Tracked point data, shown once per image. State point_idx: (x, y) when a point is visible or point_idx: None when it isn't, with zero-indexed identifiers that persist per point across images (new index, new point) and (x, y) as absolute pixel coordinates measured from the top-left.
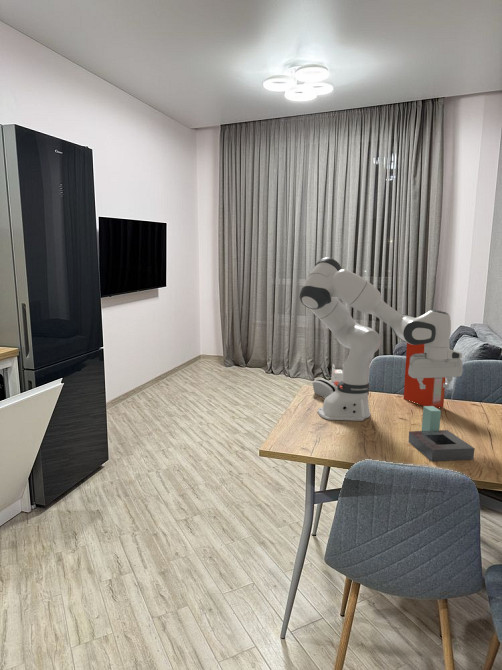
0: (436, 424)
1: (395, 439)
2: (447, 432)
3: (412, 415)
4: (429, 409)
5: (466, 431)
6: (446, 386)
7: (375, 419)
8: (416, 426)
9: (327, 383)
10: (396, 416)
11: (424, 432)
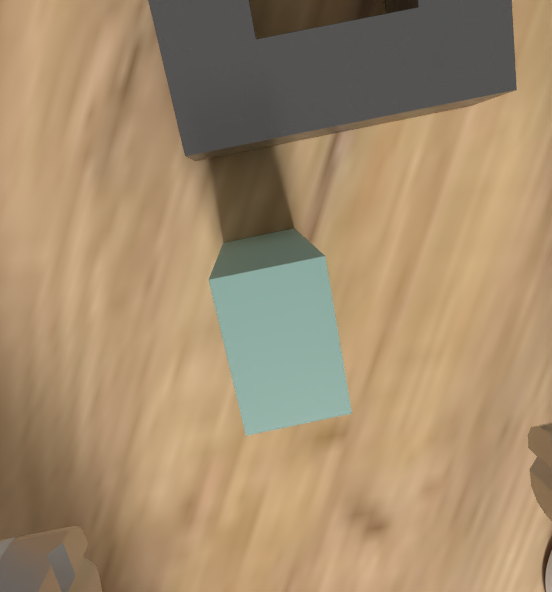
0: (248, 248)
1: (543, 143)
2: (201, 93)
3: (285, 586)
4: (323, 313)
5: (3, 351)
6: (25, 559)
7: None
8: None
9: None
10: (392, 555)
11: (398, 75)
